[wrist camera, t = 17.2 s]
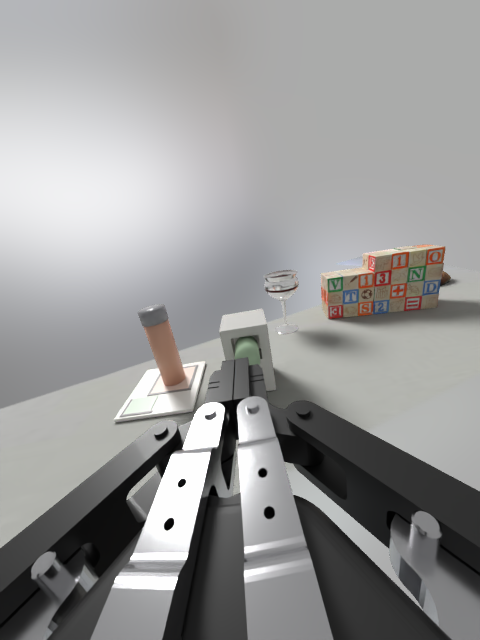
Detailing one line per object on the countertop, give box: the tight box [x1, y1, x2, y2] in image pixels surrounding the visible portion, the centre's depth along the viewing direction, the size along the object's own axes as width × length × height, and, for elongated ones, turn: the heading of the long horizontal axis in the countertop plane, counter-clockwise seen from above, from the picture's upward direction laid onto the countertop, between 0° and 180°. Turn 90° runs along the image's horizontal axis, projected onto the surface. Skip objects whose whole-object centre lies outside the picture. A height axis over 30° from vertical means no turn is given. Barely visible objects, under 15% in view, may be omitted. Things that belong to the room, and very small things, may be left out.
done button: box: [235, 336, 260, 365], centre depth 28 cm, size 3×4×3 cm
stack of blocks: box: [321, 245, 445, 319], centre depth 49 cm, size 21×6×12 cm, turn 83°
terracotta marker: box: [138, 304, 186, 386], centre depth 35 cm, size 4×4×12 cm
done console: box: [219, 309, 276, 391], centre depth 33 cm, size 6×6×10 cm
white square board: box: [114, 361, 206, 422], centre depth 36 cm, size 11×12×1 cm
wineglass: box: [264, 270, 298, 334], centre depth 47 cm, size 7×7×12 cm
